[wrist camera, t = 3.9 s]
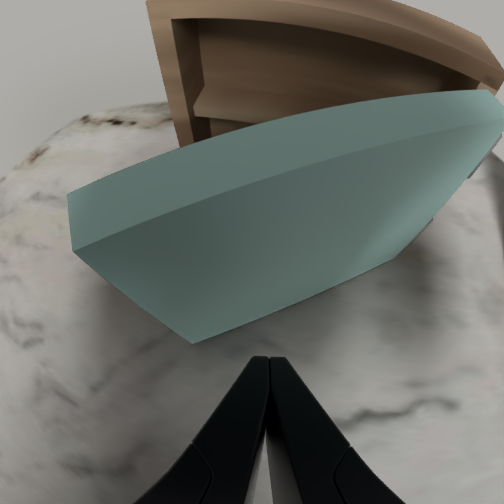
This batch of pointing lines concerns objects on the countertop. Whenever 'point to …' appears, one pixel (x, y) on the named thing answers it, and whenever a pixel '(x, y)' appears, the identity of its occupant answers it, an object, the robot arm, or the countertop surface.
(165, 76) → the cabinet
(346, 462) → the robot arm
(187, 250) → the door
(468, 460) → the countertop surface
